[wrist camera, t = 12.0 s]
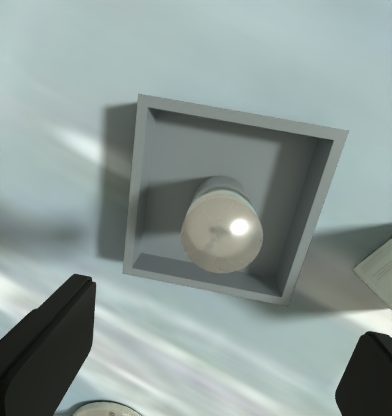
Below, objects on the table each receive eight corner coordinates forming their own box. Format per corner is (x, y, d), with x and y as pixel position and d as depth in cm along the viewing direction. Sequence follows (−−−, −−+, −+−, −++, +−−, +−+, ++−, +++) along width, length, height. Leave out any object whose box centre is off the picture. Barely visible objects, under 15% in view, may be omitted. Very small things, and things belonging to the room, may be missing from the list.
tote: (277, 281, 26) (287, 306, 23) (135, 253, 27) (122, 273, 23) (325, 130, 22) (348, 130, 18) (151, 100, 22) (138, 93, 18)
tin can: (241, 232, 24) (251, 279, 16) (188, 222, 24) (175, 265, 17) (253, 181, 22) (272, 206, 15) (197, 170, 23) (187, 191, 15)
